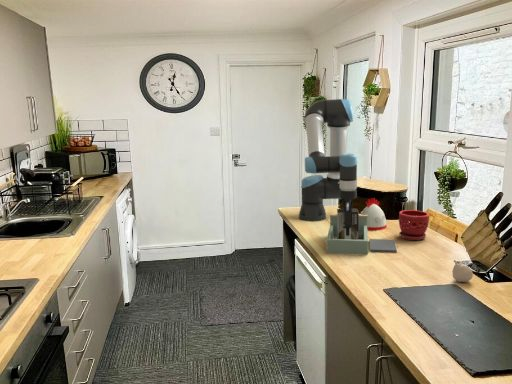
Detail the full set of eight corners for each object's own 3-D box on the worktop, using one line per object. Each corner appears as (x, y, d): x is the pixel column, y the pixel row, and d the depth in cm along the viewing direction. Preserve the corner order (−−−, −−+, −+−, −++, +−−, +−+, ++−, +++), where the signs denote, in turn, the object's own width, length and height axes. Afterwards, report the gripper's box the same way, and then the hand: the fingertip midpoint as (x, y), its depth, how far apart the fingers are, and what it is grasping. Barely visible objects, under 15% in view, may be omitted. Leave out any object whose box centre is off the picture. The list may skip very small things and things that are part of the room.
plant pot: (423, 243, 202) (424, 217, 200) (394, 239, 210) (394, 213, 208) (431, 236, 212) (433, 211, 210) (404, 232, 220) (404, 208, 218)
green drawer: (330, 235, 219) (329, 214, 216) (367, 236, 215) (367, 214, 212) (326, 253, 195) (326, 228, 192) (368, 254, 191) (368, 230, 188)
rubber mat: (369, 241, 209) (369, 238, 208) (394, 241, 206) (394, 239, 206) (369, 251, 194) (369, 249, 194) (396, 252, 192) (396, 250, 192)
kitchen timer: (353, 225, 235) (353, 197, 232) (374, 221, 241) (374, 194, 238) (370, 232, 223) (370, 202, 220) (392, 227, 228) (393, 198, 225)
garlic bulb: (455, 276, 165) (456, 255, 163) (474, 280, 161) (475, 259, 159) (449, 282, 160) (450, 261, 158) (469, 286, 156) (470, 264, 154)
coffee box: (357, 242, 207) (357, 208, 204) (359, 247, 201) (359, 211, 198) (337, 242, 208) (337, 208, 205) (338, 247, 202) (338, 211, 199)
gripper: (340, 185, 210) (340, 232, 214) (338, 193, 191) (338, 246, 195) (356, 185, 208) (356, 233, 213) (356, 193, 189) (356, 246, 194)
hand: (347, 239), depth 204 cm, fingers closed on coffee box, 7 cm apart
